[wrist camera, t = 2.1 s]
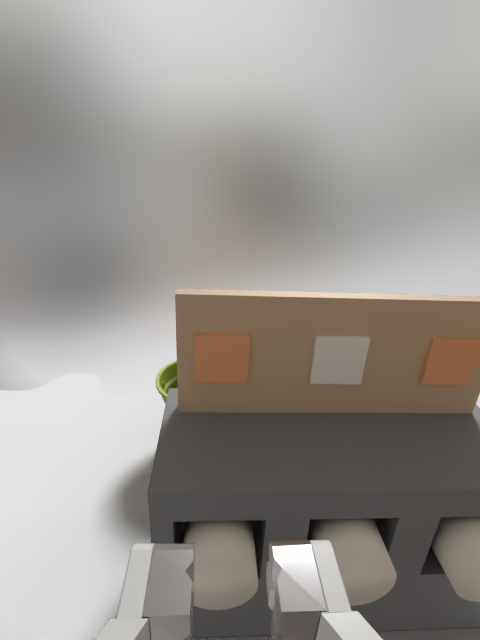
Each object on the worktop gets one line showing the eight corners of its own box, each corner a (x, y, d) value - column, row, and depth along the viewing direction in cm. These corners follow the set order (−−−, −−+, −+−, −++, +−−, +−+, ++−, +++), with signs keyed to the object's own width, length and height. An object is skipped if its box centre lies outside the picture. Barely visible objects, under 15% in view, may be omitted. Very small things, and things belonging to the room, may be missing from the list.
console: (158, 639, 27) (137, 347, 17) (173, 514, 36) (165, 278, 26) (487, 627, 28) (630, 354, 19) (421, 510, 37) (496, 287, 28)
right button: (445, 602, 23) (466, 554, 21) (417, 546, 27) (433, 501, 25) (514, 600, 24) (540, 552, 22) (477, 545, 27) (498, 500, 25)
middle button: (315, 606, 23) (326, 558, 21) (303, 548, 26) (311, 502, 24) (388, 604, 23) (404, 556, 21) (366, 547, 26) (379, 501, 24)
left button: (180, 611, 22) (178, 561, 20) (184, 551, 25) (184, 504, 24) (255, 608, 22) (260, 559, 21) (250, 550, 26) (254, 503, 24)
